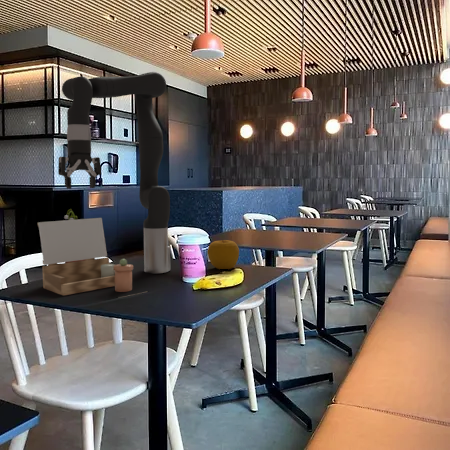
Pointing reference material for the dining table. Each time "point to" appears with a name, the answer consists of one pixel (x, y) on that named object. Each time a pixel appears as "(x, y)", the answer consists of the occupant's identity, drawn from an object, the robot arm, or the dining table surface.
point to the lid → (72, 240)
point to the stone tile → (132, 294)
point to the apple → (223, 254)
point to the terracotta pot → (123, 276)
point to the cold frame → (76, 276)
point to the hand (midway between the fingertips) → (80, 188)
